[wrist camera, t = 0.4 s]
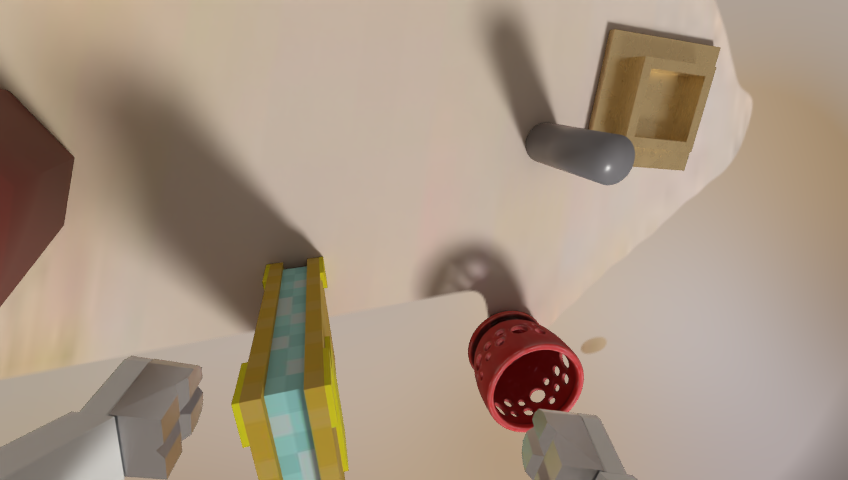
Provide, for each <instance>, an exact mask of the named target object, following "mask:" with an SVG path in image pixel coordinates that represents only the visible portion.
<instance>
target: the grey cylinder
mask: <svg viewBox="0 0 848 480" xmlns="http://www.w3.org/2000/svg"><path fill="white" fill-rule="evenodd" d="M526 151H527V153H528V155H529V156H530V158H531V159H533V160H534V161H537V162H540V163H543V164H545V165H548V166H551V167H554V168H557V169H560V170H563V171H566V172H569V173H571V174H574V175H577V176H580V177H583V178H586V179H589V180H592V181H595V182H597V183H600V184H603V185H613V184H616V183H618V182H620V181H621V180H623V179H624V178H625V177H626V176H627V175H628V173H629V172H630V170H631V169H632V166H633V164H634V160H635V150H634V146H633V144H632V142H631V141H630V140H629V139H628V138H627V137H625V136H623V135H619V134H613V133H607V132H601V131H595V130H589V129H583V128H577V127H571V126H565V125H559V124H553V123H540V124H538V125H536V126H535V127H534V128H533V129H532V130H531V131H530V132H529V134H528V136H527V139H526Z"/></svg>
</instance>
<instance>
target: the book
mask: <svg viewBox="0 0 848 480" xmlns="http://www.w3.org/2000/svg"><path fill="white" fill-rule="evenodd" d="M262 283H263V288H264V289H265V290H264V295H263V299H262V303H261V308H260V312H259V317H258V321H257V325H256V330H255V334H254V339H253V343H252V347H251V352H250V356H249V360H248V362H247V363H242V365H241V369H240V373H239V377H238V381H237V385H236V389H235V393H234V396H233V400H232V404H231V405H232V409H233V413H234V417H235V420H236V424H237V428H238V431H239V435H240V439H241V443H242V447H243V448H244V447H248V446H250V448H251V452H252V456H253V460H254V464H255V468H256V471H257V475H258V479H259V480H345V477H344V472H345V471H348V470H349V469H348V459H347V449H346V438H345V429H344V424H343V417H342V410H341V404H340V398H339V392H338V385H337V379H336V368H335V356H334V351H333V344H332V337H331V331H330V324H329V318H328V312H327V305H326V299H325V292H324V288H327V280H326V273H325V267H324V260H323V257H317V258H310V259H307V266H305V267H299V268H292V269H285V270H284V266H283V262H282V263H275V264H267V265H266V269H265V273H264V277H263V281H262Z"/></svg>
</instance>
